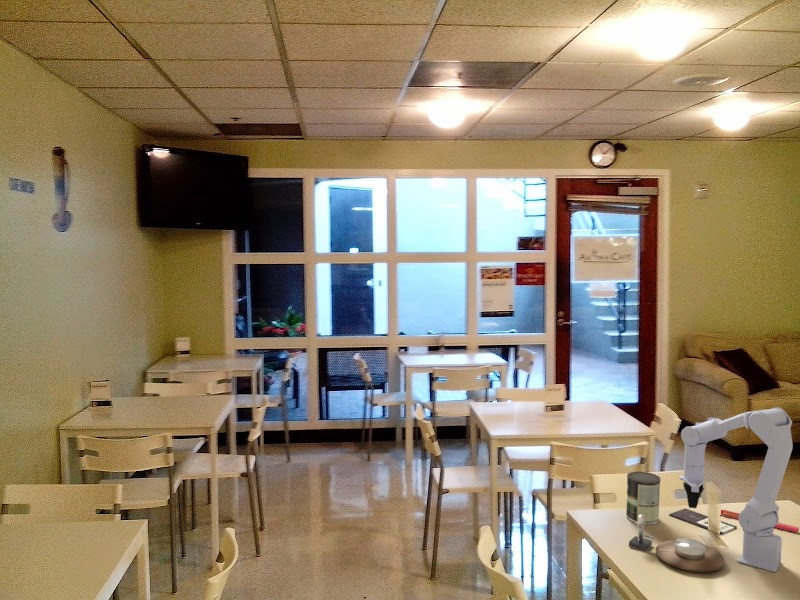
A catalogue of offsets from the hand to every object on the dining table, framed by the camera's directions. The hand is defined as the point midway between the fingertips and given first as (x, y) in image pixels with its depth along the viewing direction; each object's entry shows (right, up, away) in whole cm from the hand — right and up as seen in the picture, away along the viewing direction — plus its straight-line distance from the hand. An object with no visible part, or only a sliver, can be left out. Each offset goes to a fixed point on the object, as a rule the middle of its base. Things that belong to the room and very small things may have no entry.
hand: (692, 507), depth 209 cm
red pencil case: (+25, -8, +9) cm, 28 cm away
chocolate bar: (+7, -8, +10) cm, 15 cm away
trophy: (-19, -9, -8) cm, 23 cm away
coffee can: (-11, -8, +12) cm, 18 cm away
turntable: (-8, -10, -17) cm, 21 cm away
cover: (-8, -8, -18) cm, 21 cm away
